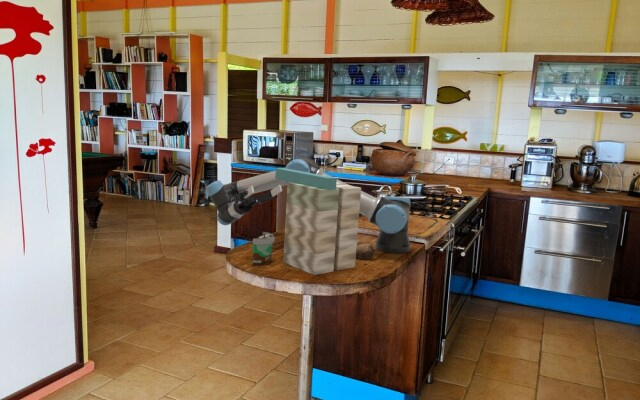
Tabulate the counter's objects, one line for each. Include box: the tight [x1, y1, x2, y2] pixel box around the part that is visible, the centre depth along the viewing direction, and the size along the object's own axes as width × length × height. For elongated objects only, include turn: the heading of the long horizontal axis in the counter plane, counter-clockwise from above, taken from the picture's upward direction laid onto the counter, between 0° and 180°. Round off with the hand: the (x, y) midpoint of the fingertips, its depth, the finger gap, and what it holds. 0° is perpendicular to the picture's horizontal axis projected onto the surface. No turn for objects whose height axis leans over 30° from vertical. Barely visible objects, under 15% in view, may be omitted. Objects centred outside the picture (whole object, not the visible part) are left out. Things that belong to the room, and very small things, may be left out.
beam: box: [275, 167, 338, 190], centre depth 183 cm, size 30×4×4 cm, turn 41°
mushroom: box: [356, 242, 375, 261], centre depth 202 cm, size 8×8×6 cm
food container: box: [252, 231, 276, 266], centre depth 186 cm, size 12×6×10 cm, turn 168°
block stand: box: [282, 183, 362, 276], centre depth 186 cm, size 18×20×30 cm
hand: (267, 188), depth 200 cm, fingers open, 13 cm apart
